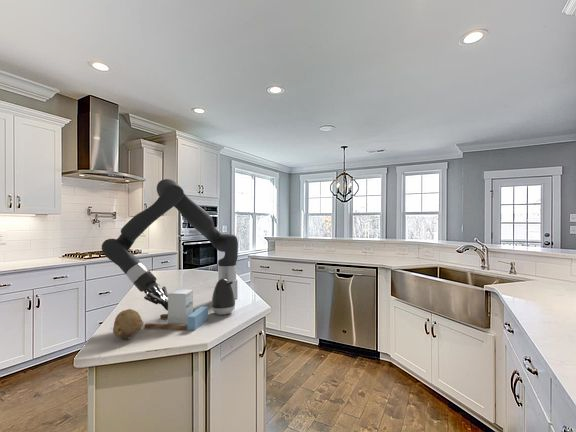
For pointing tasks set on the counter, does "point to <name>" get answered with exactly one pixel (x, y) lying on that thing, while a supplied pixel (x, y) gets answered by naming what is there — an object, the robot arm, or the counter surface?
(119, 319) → the brown potato
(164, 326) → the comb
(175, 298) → the supplement box
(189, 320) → the blue rectangular block
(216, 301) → the pump dispenser
